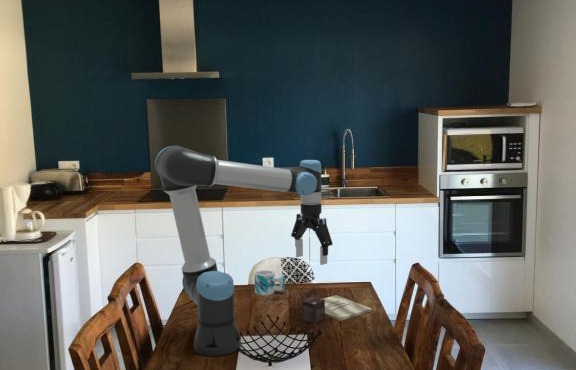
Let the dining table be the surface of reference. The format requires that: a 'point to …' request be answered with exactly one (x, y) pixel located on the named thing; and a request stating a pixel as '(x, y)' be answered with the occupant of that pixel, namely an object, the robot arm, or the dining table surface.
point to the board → (343, 308)
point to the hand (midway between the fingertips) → (311, 260)
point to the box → (313, 309)
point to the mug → (267, 282)
